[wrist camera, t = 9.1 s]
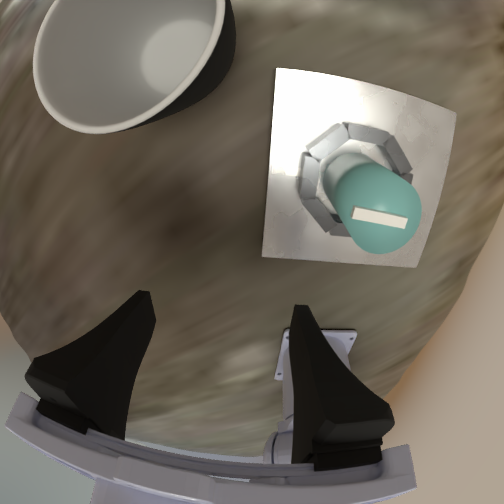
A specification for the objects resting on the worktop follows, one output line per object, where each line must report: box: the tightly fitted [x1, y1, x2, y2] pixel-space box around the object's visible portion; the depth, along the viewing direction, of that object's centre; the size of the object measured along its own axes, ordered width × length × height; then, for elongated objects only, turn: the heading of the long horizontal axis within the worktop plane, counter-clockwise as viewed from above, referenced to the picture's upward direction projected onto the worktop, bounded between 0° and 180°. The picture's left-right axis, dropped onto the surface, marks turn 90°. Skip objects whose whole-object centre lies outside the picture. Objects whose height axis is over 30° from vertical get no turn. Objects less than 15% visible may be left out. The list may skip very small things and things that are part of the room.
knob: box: [324, 153, 422, 254], centre depth 15 cm, size 4×4×6 cm
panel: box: [262, 68, 457, 268], centre depth 18 cm, size 14×14×3 cm
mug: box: [33, 0, 236, 134], centre depth 11 cm, size 12×9×10 cm
